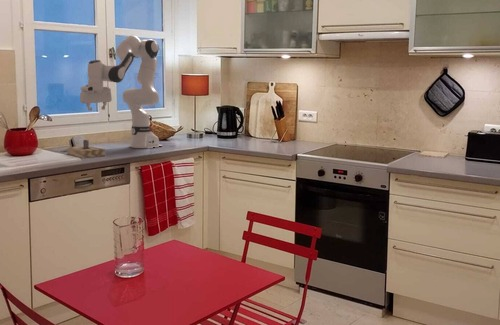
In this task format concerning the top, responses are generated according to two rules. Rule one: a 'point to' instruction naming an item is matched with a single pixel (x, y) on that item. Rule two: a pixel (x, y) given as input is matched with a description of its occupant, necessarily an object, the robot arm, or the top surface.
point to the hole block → (86, 151)
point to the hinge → (76, 141)
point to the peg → (85, 144)
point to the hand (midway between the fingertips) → (96, 110)
